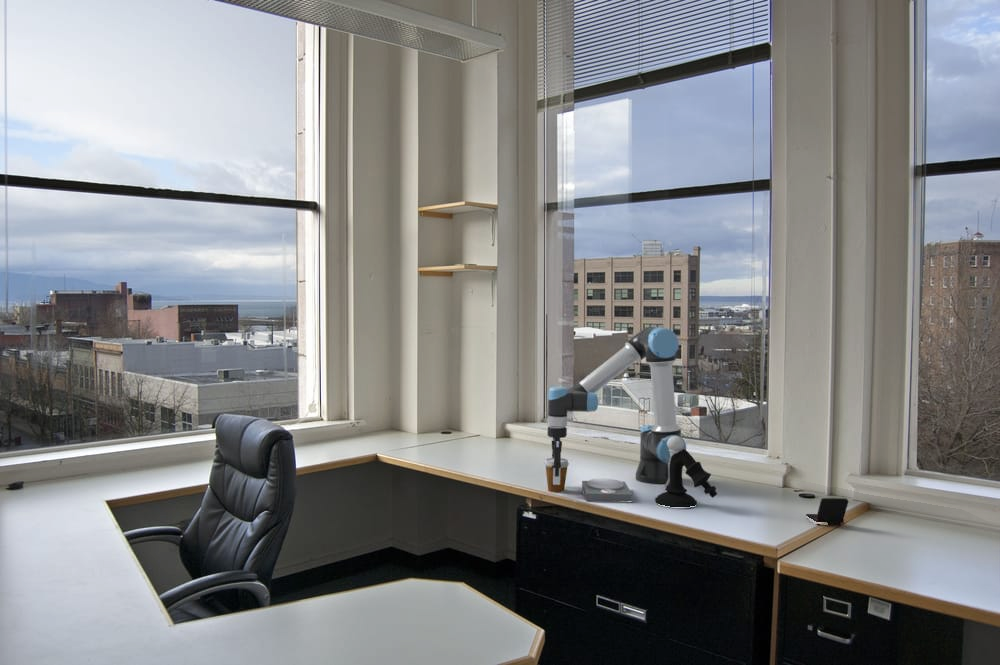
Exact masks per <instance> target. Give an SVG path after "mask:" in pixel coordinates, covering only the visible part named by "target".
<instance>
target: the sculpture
mask: <svg viewBox="0 0 1000 665" xmlns="http://www.w3.org/2000/svg"><path fill="white" fill-rule="evenodd" d="M682 438H683V437H681V438H680V437H678V436H672V437H670V438H669V439H668V441H667V446H668V448H669V449H670V450H669V451H670V459H671V460H669V461H670V462H669V467H668V468H669V469H668V470H669V471H668V475H669V476H668V477H669V479H668V480H667V482H666V483H664V485H663V487H664V488H665V489H664V490H665V491H663V492H661V493H660V494H658V495H657V497H655V498H654V503H655V502H656V503H658V504H660V505H665V506H670V507H690V506H695V505H696V504H697V505H698V501H697V500H696V499H695V498H694V496H692V495H691V494H689V493H687V492H688V490H687V489H686V488H685V487H684V484H683V468H684V467H685V469H686V470H685V474H686V476H688V477H689V478H691V480H692V483H693V487H694V488H699V487H703V489H704V490H703V492H704V494H706V495H708V494H709V495H710V497H711V498H712V499H713V498H715V497H716V496H717V495H719V494H718V492H717V487H716V486H715V485H713V486H712V485H711V484H710V483H709V481H708V480H709V479H710V477H711V475H712V473H709V472H707V471H706V470H705V469H704V468H703V466H702V464H701V462H700V461H696V460H695V459H694V457H693V456H692V455H691V454H690V452H689V451H688V450H687V449H686V450H685V449H684V448H683V446H684V442H683V440H684V439H683V440H682ZM656 503H655V504H656ZM658 504H657V505H658ZM660 505H659V506H660Z"/></svg>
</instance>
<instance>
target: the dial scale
mask: <svg viewBox="0 0 1000 665" xmlns="http://www.w3.org/2000/svg"><path fill="white" fill-rule="evenodd" d="M581 489H582V493H583V492H584V493H583V496H584V499H585V501H586V502H592V501H632V502H633V493H632V491H631V489H630V488H629V487H628V484H627V483H626V481H621V480H618V479H614V478H613V479H612V478H611V479H610V478H593V479H589V480H581Z"/></svg>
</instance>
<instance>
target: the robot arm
mask: <svg viewBox="0 0 1000 665" xmlns="http://www.w3.org/2000/svg"><path fill="white" fill-rule="evenodd" d="M677 336H678V335H677V334H676V333H675V332H674V331H673V330H671V329H669V328H667V327H660V326H647V327H645V328H643V329H642V330H641V329H640V330H639V332H637V333H636V334H635V335H634V336H632V337H631V338H630V339H628V340H627V341H626V342H625V343H624V346H623V347H622V348H621V349H620V350H618V351H617V352H616V353H614V354H613V355H612V356H611V357H610V358H608V359H607V360H606V361H605V362H603V363H602V364H601V365H599V366H598V367H596V369H594V370H593V371H592V372H591V373H589V374H588V375H586V376H585V377H584V378H583V379H582V380H581V381H579V382H577V384H575V385H574V386H572V387H565V386H553V387H550V388H549V389H548V398H547V399H548V400H547V402H548V405H547V406H548V408H547V410H548V411H547V417H546V421H547V425H548V426H547V431H546V432H547V436H548V437H549V438H552V440H551V450H552V452H551V458H554V466H553V465H552V468H553V485H560V469H561V468H560V467H561V457H562V455H561V454H562V446H563V442H562V440H561V439H563V438H566V437H567V435H568V433H567V430H568V428H567V426H568V412H570V413H571V412H579V413H580V412H581V413H582V412H583V413H585V412H587V413H589V412H591V413H593V412H596V411H597V409H598V406H599V398H598V394H597V392H599V391H600V390H601V389H602V388H604V387H605V386H606V385H608V384H609V383H610V382H612V381H613V379H615V378H616V377H618V376H619V375H620V374H622V373H623V372H625V370H626V369H627V368H629V367H630V366H632V365H633V364H634V363H636V362H637V361H638V362H640V361H642V360H643V359H645V362H646V363H647V365H649V367H650V378H651V392H652V395H651V396H652V405H653V422H654V425H653V424H650V425H649V424H648V425H642V426H641V428H640V432H639V433H640V442H639V443H640V446H639V448H640V450H639V451H640V453H639V457H640V458H639V462H638V466H637V469H636V470H635V480H636V481H638V480H639V481H638V482H642V483H646V482H648V484H666V482H667V480H668V479H669V477H668V476H669V475H668V471H669V470H668V469H669V468H668V467H669V462H670V461H669V460H671V459H670V451H669V450H670V449H669V448H668V446H667V441H668V439H669V438H670V437H672V436H678V437H680V438H682V440H683V442H684V446H683V448H684V449H685V450H686V451H687V443H686V442H685V439H683V437H682V428H681V426H679V425H678V424H677V413H676V412H677V411H676V400H675V398H676V397H675V386H674V373H673V364H674V363H675V362H676V361H677V360H676V359H677V358H676V353H677V352H678V350H679V345H680V343H679V342H680V341H679V339H678V337H677Z"/></svg>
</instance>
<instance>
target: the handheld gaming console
mask: <svg viewBox="0 0 1000 665" xmlns="http://www.w3.org/2000/svg"><path fill="white" fill-rule="evenodd" d="M819 502H820V503H819V506H818V510H817V513H806V514H805V517H806V516H808V517H809V518H811V519H813V520H814V521H816V522H827V523H828V526H835V527H837V526H844V522H845V521H844V520H845V515H846V512H847V508H848V504H849V499H848V498H845V497H844V498H843V497H842V498H841V497H840V498H838V497H837V498H836V497H833V498H832V497H830V498H828V497H821V499H820V501H819Z"/></svg>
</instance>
